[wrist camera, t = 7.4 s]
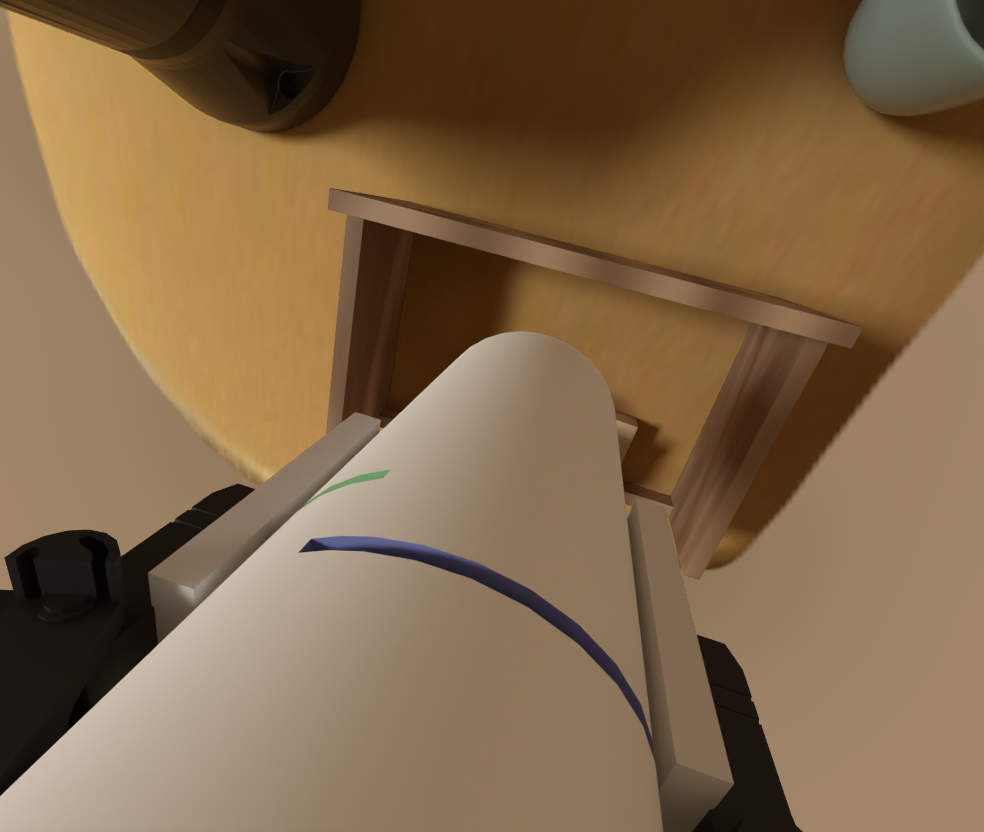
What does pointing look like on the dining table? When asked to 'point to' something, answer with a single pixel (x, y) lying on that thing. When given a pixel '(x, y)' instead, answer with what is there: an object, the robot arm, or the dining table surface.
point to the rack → (761, 359)
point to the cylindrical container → (401, 642)
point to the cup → (916, 55)
